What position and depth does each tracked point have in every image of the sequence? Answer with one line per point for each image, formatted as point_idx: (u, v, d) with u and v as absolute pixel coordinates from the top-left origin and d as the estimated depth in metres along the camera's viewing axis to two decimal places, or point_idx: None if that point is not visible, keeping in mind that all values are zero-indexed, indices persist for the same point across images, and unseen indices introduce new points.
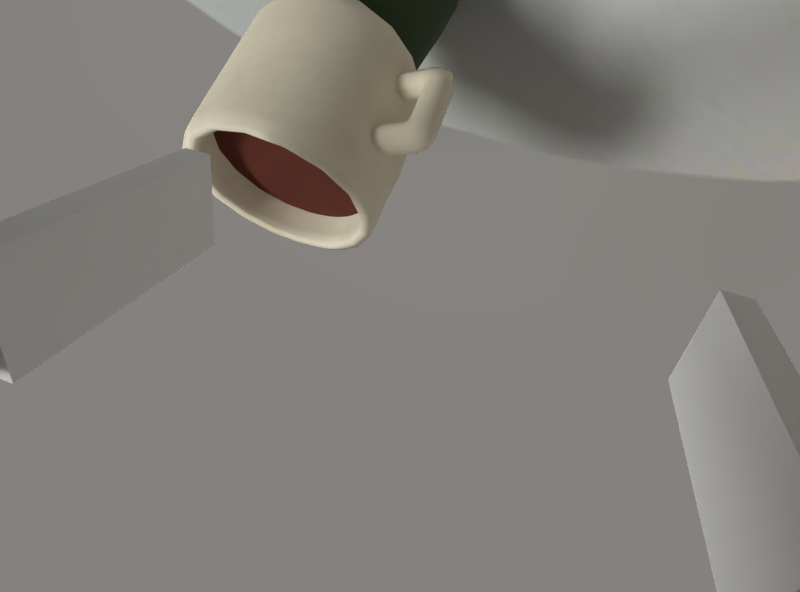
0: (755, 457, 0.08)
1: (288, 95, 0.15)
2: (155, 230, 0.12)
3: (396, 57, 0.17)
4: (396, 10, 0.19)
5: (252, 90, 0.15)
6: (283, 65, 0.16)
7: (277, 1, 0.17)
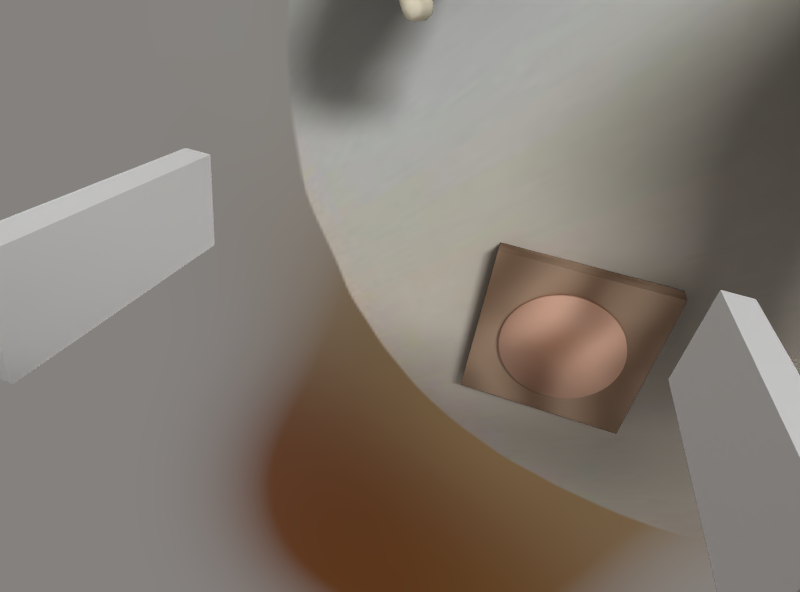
0: (755, 457, 0.08)
1: None
2: (155, 230, 0.12)
3: None
4: None
5: None
6: None
7: None
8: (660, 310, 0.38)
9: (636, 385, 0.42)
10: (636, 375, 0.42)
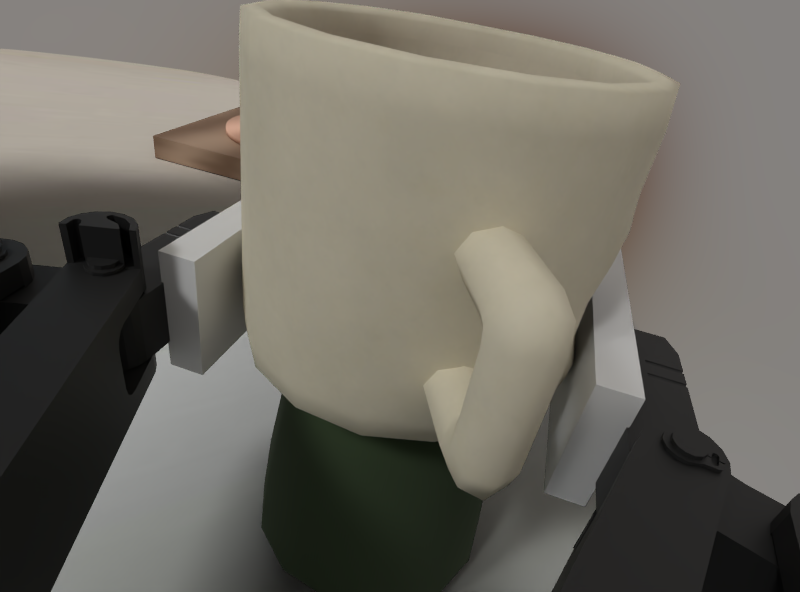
0: (578, 346, 0.10)
1: None
2: None
3: None
4: None
5: None
6: None
7: (243, 298, 0.11)
8: (182, 135, 0.36)
9: (228, 113, 0.42)
10: (225, 116, 0.41)
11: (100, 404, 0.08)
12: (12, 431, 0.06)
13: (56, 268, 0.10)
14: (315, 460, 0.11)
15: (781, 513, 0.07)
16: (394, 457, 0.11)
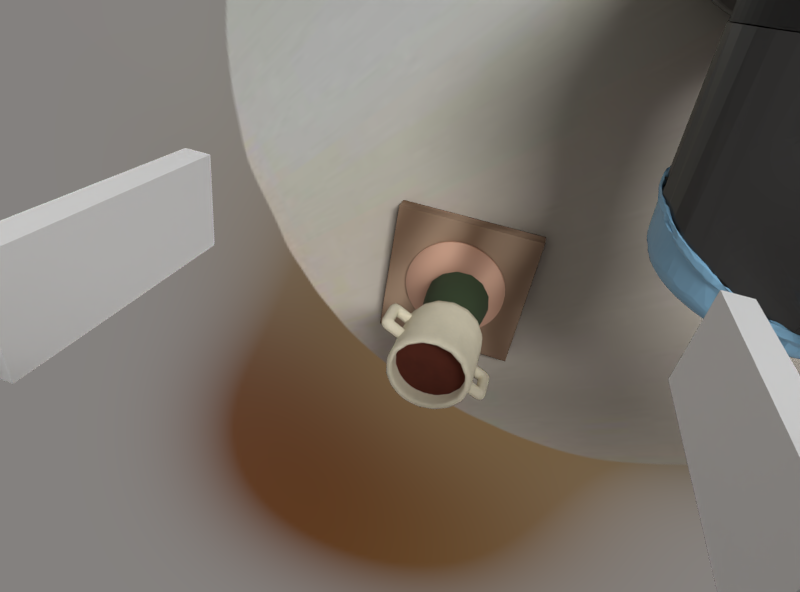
0: (755, 457, 0.08)
1: (472, 360, 0.41)
2: (155, 230, 0.12)
3: None
4: None
5: (466, 350, 0.40)
6: (472, 347, 0.42)
7: (466, 313, 0.44)
8: (526, 252, 0.48)
9: (515, 317, 0.52)
10: (514, 309, 0.51)
11: None
12: None
13: None
14: (446, 295, 0.47)
15: None
16: None
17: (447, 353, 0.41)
